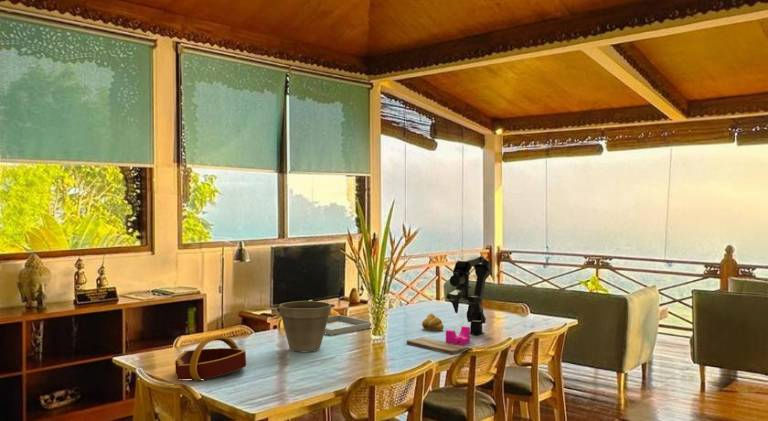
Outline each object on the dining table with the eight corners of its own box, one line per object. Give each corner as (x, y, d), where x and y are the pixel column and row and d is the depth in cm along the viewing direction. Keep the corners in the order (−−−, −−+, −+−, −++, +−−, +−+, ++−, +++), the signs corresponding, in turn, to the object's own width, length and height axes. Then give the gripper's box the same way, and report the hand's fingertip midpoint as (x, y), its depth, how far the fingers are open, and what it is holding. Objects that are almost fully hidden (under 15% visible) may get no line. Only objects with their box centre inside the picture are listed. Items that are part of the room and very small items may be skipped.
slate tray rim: (339, 319, 382) (339, 314, 382) (374, 327, 360) (374, 322, 359) (296, 326, 361) (296, 321, 361) (331, 335, 338) (331, 330, 338)
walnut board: (422, 340, 328) (423, 337, 328) (468, 350, 306) (468, 347, 306) (406, 343, 320) (406, 340, 320) (452, 354, 298) (452, 351, 298)
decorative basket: (213, 364, 289) (209, 331, 290) (267, 360, 278) (263, 326, 279) (161, 385, 258) (156, 349, 258) (220, 382, 247) (215, 344, 247)
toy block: (455, 347, 313) (455, 332, 313) (445, 345, 317) (445, 330, 317) (473, 342, 324) (473, 327, 324) (464, 340, 328) (464, 326, 328)
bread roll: (447, 330, 353) (447, 316, 352) (434, 332, 347) (434, 318, 346) (431, 326, 363) (431, 312, 362) (418, 328, 357) (418, 314, 356)
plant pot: (310, 340, 326) (310, 298, 326) (341, 348, 309) (341, 304, 308) (269, 348, 309) (269, 304, 309) (299, 357, 291) (299, 310, 291)
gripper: (439, 283, 331) (439, 313, 331) (467, 287, 317) (467, 318, 317) (453, 281, 338) (453, 311, 338) (481, 285, 325) (481, 316, 325)
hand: (463, 314), depth 330 cm, fingers open, 9 cm apart
